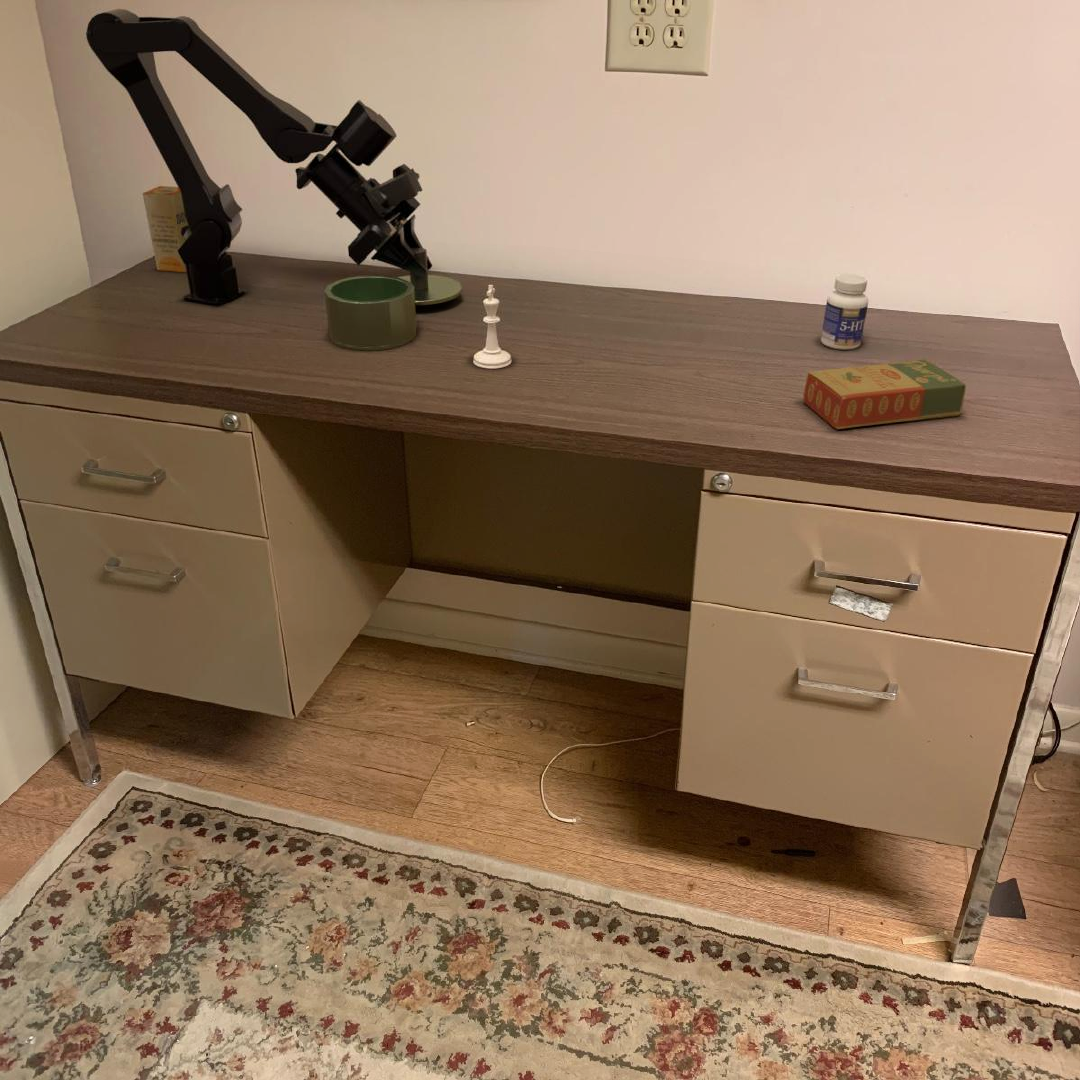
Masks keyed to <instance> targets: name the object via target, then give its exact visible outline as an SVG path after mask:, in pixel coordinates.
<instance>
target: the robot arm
mask: <svg viewBox="0 0 1080 1080" xmlns="http://www.w3.org/2000/svg"><path fill="white" fill-rule="evenodd" d="M85 38H86V41H87V43H88V44H87V45H88V46H89V47H90V49H91V50H92V52H93V53H94V55H95V56H96V58H97V59H98V60H99V62H100V63H101V64H102V67H104V68H105V70H106V71H107V72H108V74H110V75H111V76H112V77H113V78H114V79H115V80H116V81H117V82H118V83H119V84H120V85H121V87H123V88H124V89H125V91H127V94H128V96H129V97H130V99H131V101H132V103H133V105H134V107H135V109H136V110H137V112H138V114H139V116H140V118H141V120H142V121H143V123H144V126H145V127H146V128H147V131H148V133H149V135H150V137H151V139H152V140H153V142H154V144H155V146H156V148H157V150H158V152H159V153H160V156H161V157H162V159H163V161H164V164H165V165H166V167H167V168H168V171H169V172H170V174H171V176H172V178H173V180H174V182H175V184H176V185H177V186H176V187H178V188H179V190H180V192H181V196H182V202H183V208H184V214H185V218H186V220H187V223H188V226H189V229H190V232H191V235H190V236H189V237H188V239H187V240H186V241H185V242H184V243H183V244H182V246H181V247H180V248H179V249H178V253H179V255H180V257H181V259H182V261H183V262H184V264H185V266H186V271H187V272H186V276H187V282H188V287H189V293H187V294H186V295H183V301H188V302H189V301H190V302H195V303H201V304H207V305H212V306H220V305H223V304H225V303H226V302H229V301H230V300H233V299H235V298H237V297H240V296H241V295H244V294H245V289H242V288H239V282H238V276H237V270H236V269H237V268H236V266H234V262H233V255H232V254H229V253H227V250H228V249H230V248H231V245H232V242H233V240H234V239H235V238H236V237H237V235H238V234H239V233H240V231H241V228H242V224H243V221H242V220H243V219H242V217H241V212H242V211H243V208H242V207H241V206H240V205H239V204H238V203H237V201H236V199H235V197H234V194H233V191H232V188H231V186H230V184H229V183H228V184H225V185H223V186H222V187H220V186H219V185H218V184H217V183H216V182H215V181H214V180H213V179H212V178H211V177H210V176H209V174H208V172H207V170H206V168H205V166H204V164H203V162H202V161H201V159H200V157H199V154H198V153H197V151H196V149H195V146H194V145H193V143H192V141H191V138H190V137H189V135H188V132H187V131H186V129H185V127H184V125H183V123H182V121H181V119H180V117H179V116H178V113H177V111H176V109H175V108H174V106H173V104H172V102H171V100H170V97H169V96H168V94H167V93H166V90H165V87H164V86H163V84H162V82H161V80H160V78H159V75H158V71H157V66H156V61H155V55H154V54H155V53H162V52H175V53H177V54H178V55H180V56H181V57H182V58H183V59H184V60H185V61H186V62H187V63H188V64H190V65H191V66H192V67H193V69H195V70H196V71H197V72H198V73H199V74H201V76H203V77H204V78H205V79H206V80H207V81H208V82H209V83H210V84H212V85H213V86H214V87H215V88H216V89H217V90H218V91H219V92H220V93H221V94H222V95H224V97H226V98H227V99H228V100H229V101H230V102H231V103H233V104H234V105H235V106H236V107H237V108H238V109H239V110H240V111H241V112H242V113H243V114H245V116H246V117H247V118H248V119H249V120H250V121H251V123H252V124H253V126H254V127H255V129H256V131H257V133H258V134H259V136H260V138H261V139H262V140H263V141H264V142H265V144H266V145H267V146H268V148H269V149H270V150H271V151H272V152H273V154H274V155H275V156H276V157H277V158H278V160H281V161H282V162H283V163H286V164H299V163H302V162H304V161H306V160H307V159H308V158H309V157H310V156H311V155H312V154H315V153H317V154H316V155H315V156H314V157H312V160H311V161H309V162H308V164H307V165H306V166H305V167H303V166H299V167H297V168H295V169H294V171H295V174H296V188H297V189H298V190H302V189H304V188H306V187H308V186H309V185H310V183H312V184H313V185H314V186H315V187H316V188H317V189H318V190H319V191H320V192H321V193H323V195H324V196H325V197H326V198H327V200H329V201H330V202H331V203H332V204H333V205H334V206H335V207H336V208H337V209H338V210H337V211H336V212H335V215H336V216H338V217H339V219H342V218H344V217H346V218H347V219H348V220H349V221H350V223H352V224H353V226H355V228H356V229H358V230H359V233H357V236H356V237H354V239H353V240H352V241H351V242H350V244H349V245H348V246H347V253H348V257H349V258H350V259H351V260H352V261H353V262H354V263H355V264H356V265H357V266H358V267H359V266H360V265H361V264H362V263H364V261H365V260H366V259H367V258H368V256H370V255H371V253H372V252H373V251H375V253H374V254H373V255H372V256H371V257H370V259H371V260H372V261H375V260H376V261H378V262H382V263H385V264H387V265H390V266H392V267H396V268H398V269H401V270H404V271H406V272H408V273H410V272H411V273H413V274H416V275H419V276H421V277H423V276H424V275H425V274H426V273H427V270H426V269H425V267H424V266H423V264H422V263H421V262H420V260H419V259H418V258H417V256H416V255H415V254H414V252H413V251H412V250H411V249H412V248H424V247H423V245H422V244H421V242H420V239H419V238H418V236H417V234H416V232H415V220H416V214H413V213H414V212H415V211H416V210H417V209H418V208H419V207H420V206H421V203H420V202H419V200H417V199H416V198H415V197H417V196H418V195H419V194H418V193H419V192H420V193H421V192H422V191H423V188H422V186H421V183H420V182H419V179H420V174H419V173H418V172H416V171H415V169H414V168H413V167H412V168H410V167H409V166H408V165H407V164H406V163H403V164H400V165H398V166H397V167H395V168H393V170H392V178H389V179H387V180H386V181H384V182H381V183H380V182H379V181H378V180H377V179H376V178H372V177H370V178H369V179H366V177H364V176H363V175H362V174H361V172H360V171H359V170H358V169H357V168H356V167H361V166H362V165H365V166H366V167H370V166H371V165H372V164H373V163H374V162H375V161H376V160H377V159H378V158H379V156H380V155H381V154H382V153H384V151H385V150H386V149H387V148H388V147H389V146H390V144H391V143H392V142H393V141H394V140H395V139H396V138H397V134H396V133H397V132H396V131H395V130H394V128H393V127H392V126H391V124H390V123H389V122H388V121H387V120H386V119H385V117H383V116H382V115H381V113H377V112H376V111H375V110H373V109H372V108H371V107H369V106H368V105H365V103H364V102H362V100H360V99H358V100H356V102H355V103H354V104H353V106H351V108H350V110H349V111H348V113H347V115H346V116H345V117H344V118H343V119H342V120H341V121H340V123H338V125H334V124H329V123H322V122H315V121H314V120H313V118H311V117H310V116H309V115H307V114H306V113H304V112H303V111H301V110H300V109H298V108H297V107H295V106H294V105H292V104H291V103H289V102H287V101H285V100H284V99H281V98H279V97H277V96H275V95H274V94H273V93H271V92H269V91H268V90H267V89H266V88H264V86H263V85H262V84H260V83H259V82H258V81H257V80H256V79H255V77H253V76H252V75H251V74H249V72H247V71H246V70H245V69H244V68H243V67H242V66H241V65H240V64H239V63H238V62H237V61H235V59H233V58H232V57H231V56H230V55H229V53H227V52H226V51H225V50H224V49H223V48H222V47H220V45H218V44H217V43H216V42H215V41H214V40H213V39H212V38H211V37H210V36H209V35H208V34H206V33H205V32H204V31H203V30H202V29H201V28H200V26H199V25H198V23H197V22H196V21H195V20H194V19H193V18H190V16H185V15H182V16H176V17H165V16H164V17H162V16H138V15H137V14H136V13H134V12H132V11H130V10H127V9H124V8H115V9H112V10H108V11H104V12H100V13H97V14H95V15H94V16H92V17H91V19H89V22H88V23H87V28H86V31H85ZM333 142H335V144H334V145H333V147H331V149H330V150H329V151H328V152H327V153H326V154H322V153H320V152H324V151H326V149H327V148H328V147H329V146H330V145H331V144H332V143H333ZM354 165H355V166H356V167H355V166H354ZM411 215H412V216H411ZM432 267H433V264H432V262H431V260H430V258H429V256H428V255H427V268H428V271H430V270H431V268H432Z"/></svg>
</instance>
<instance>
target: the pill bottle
mask: <svg viewBox="0 0 1080 1080" xmlns="http://www.w3.org/2000/svg"><path fill="white" fill-rule="evenodd" d="M867 286H868V279H867V278H866V277H864V276H862V275H858V274H853V273H852V274H850V273H847V274H846V273H845V274H839V275H837V276H836V277H835V281H834V291H832V292H831V293H829V294H828V296H827V299H826V304H825V311H824V315H823V323H822V328H821V335H820V342H821V343H822V344H823V345H824V346H825V347H828V348H832V349H836V350H843V351H844V350H854V349H857V348H859V347H860V346H861V344H862V339H863V338H862V337H863V334H864V329H865V322H866V317H867V313H868V306H869V298H868V297H867V295H866V294H864V293H865V292H866V290H867Z"/></svg>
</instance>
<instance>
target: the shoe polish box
mask: <svg viewBox="0 0 1080 1080" xmlns="http://www.w3.org/2000/svg"><path fill="white" fill-rule="evenodd" d="M142 197H143V202H144V208H145V213H146V219H147V223H148V228H149V233H150V239H151V243H152V248H153V254H154V257H155V258H154V259H155V264H156V269H157V271H164V272H177V273H187V271H186V266H185V264H184V262H183V261H182V259H181V257H180V255H179V253H178V249H179V248H180V247H181V246H182V244H183V243H184V242H185V241H186V240H187V239H188V237H189V236H190V235H191V232H190V229H189V226H188V223H187V220H186V218H185V214H184V208H183V202H182V196H181V192H180V190H179V188H178V186H166V185H165V186H164V185H159V186H156V187H154V188H152V189H150V190H149V189H148V190H147V191H145V192H143V193H142Z"/></svg>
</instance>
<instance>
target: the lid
mask: <svg viewBox="0 0 1080 1080" xmlns="http://www.w3.org/2000/svg"><path fill="white" fill-rule="evenodd" d="M411 250H412V251H413V252H414V254H415V255H416V256H417V258H418V259H419V260H420V262H421V263H422V264H423V266H424V267H425V269H426V270H427V273H426V274H425V275H424V276H423V277H421V276H419V275H416V274H413V273H411V272H409V275H404V276H402V275H401V276H397V277H398V278H401V279H404V280H407V281H409V282H410V283H411V284H412V285H413V286H414V295H415V306H429V305H436V304H437V305H438V304H441V303H445V302H449V301H452V300H454V299H456V298H458V297H459V296H461V294H462V291H463V287H462V284H461V283H460V282H459V281H457V280H456V279H453V278H451V277H447V276H442V275H437V274H436V275H435V274H429V270H428V268H427V256H428V252H427V249H426V248H424V247H423V248H412V249H411Z"/></svg>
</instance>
